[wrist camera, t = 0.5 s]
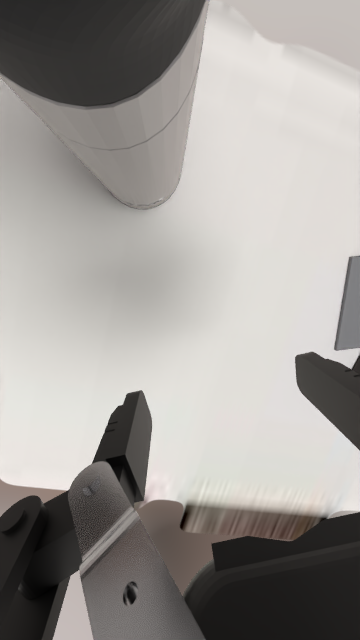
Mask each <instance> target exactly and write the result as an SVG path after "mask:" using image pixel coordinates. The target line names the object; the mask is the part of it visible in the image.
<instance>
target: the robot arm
mask: <svg viewBox="0 0 360 640" xmlns="http://www.w3.org/2000/svg"><path fill="white" fill-rule="evenodd" d="M208 5H209V0H0V78H1V79H2V80H3V81H4V82H5V83H6V84H7V85H8V86H9V87H10V88H11V89H12V90H13V91H14V92H15V93H16V94H17V95H18V96H19V97H20V99H21V100H22V101H23V102H24V103H25V104H26V105H27V106H28V107H29V108H30V109H31V110H32V111H33V112H34V113H35V114H36V115H37V116H38V117H39V118H40V119H41V120H42V121H43V122H44V123H45V124H46V125H47V126H48V127H49V128H50V129H51V130H52V131H53V133H54V134H55V135H56V136H57V137H58V138H59V139H60V140H61V141H62V142H63V143H64V144H65V145H66V146H67V147H68V148H69V149H70V150H71V151H72V152H73V153H74V154H75V156H76V157H77V158H78V159H79V160H80V161H81V162H82V163H83V164H84V165H85V166H86V167H87V168H88V169H89V170H90V171H91V172H92V173H93V174H94V175H95V176H96V177H97V178H98V180H99V181H100V182H101V183H102V184H103V185H104V186H105V187H106V188H107V189H108V190H109V191H110V192H111V193H112V194H113V195H114V196H115V197H116V198H117V199H118V200H120V201H121V202H122V203H124V204H126V205H128V206H130V207H134V208H138V209H149V208H153V207H156V206H158V205H160V204H162V203H164V202H165V201H166V200H167V199H168V198H169V197H170V196H171V195H172V194H173V192H174V191H175V189H176V187H177V185H178V183H179V180H180V176H181V172H182V166H183V160H184V155H185V149H186V143H187V136H188V130H189V124H190V118H191V112H192V106H193V100H194V93H195V87H196V81H197V75H198V69H199V63H200V57H201V50H202V44H203V36H204V30H205V24H206V18H207V11H208ZM295 364H296V379H297V385H298V387H299V389H300V391H301V393H302V394H303V395H304V396H305V397H306V398H307V399H308V400H309V401H310V402H311V403H312V404H313V405H314V406H315V407H316V408H317V409H318V410H319V411H320V412H321V413H322V414H323V415H324V416H325V417H326V418H327V419H328V420H329V421H330V422H331V423H333V424H334V425H335V426H336V427H337V428H338V429H339V430H340V431H341V432H342V433H343V434H344V435H345V436H346V437H347V438H348V439H349V440H350V441H351V442H352V443H353V444H354V445H355V446H356V447H357V448H358V449H359V450H360V374H358V373H356V372H355V371H351V369H350V368H348V367H346V366H344V365H343V364H341V363H338V362H335V361H332V360H329V359H324V358H323V357H321V356H319V355H318V354H316V353H314V352H309V353H305V354H300V355H297V356H296V357H295ZM151 432H152V418H151V414H150V411H149V408H148V405H147V402H146V399H145V396H144V393H143V391H142V390H141V391H136V392H132V393H128V394H127V395H126V398H125V401H124V404H123V405H121V406H118V407H117V408H116V409H115V411H114V412H113V413H112V414H111V416H110V419H109V421H108V425H107V427H106V429H105V433H104V434H103V437H102V439H101V442H100V444H99V447H98V450H97V452H96V455H95V457H94V460H93V462H92V464H91V465H89V466H88V467H86V468H85V469H84V470H83V471H81V472H80V473H79V474H78V476H77V477H76V478H75V480H74V481H73V483H72V485H71V487H70V489H69V490H68V491H66V492H64V493H63V494H61V495H59V496H57V497H55V498H53V499H52V500H50V501H48V502H46V503H44V504H43V502H42V501H41V499H40V498H39V497H38V496H28V497H26V498H24V499H22V500H20V501H18V502H17V503H15V504H14V505H13V506H11V507H10V508H9V509H8V510H7V511H6V512H5V513H4V514H3V515H2V516H1V517H0V640H52V639H53V636H54V632H55V628H56V625H57V621H58V618H59V614H60V611H61V607H62V604H63V600H64V597H65V593H66V590H67V586H68V583H69V579H70V576H71V575H72V574H74V573H75V572H76V571H78V570H80V577H81V582H82V587H83V592H84V596H85V601H86V606H87V611H88V616H89V620H90V625H91V629H92V634H93V639H94V640H360V512H358V513H354V514H349V515H344V516H340V517H335V518H330V519H325V520H323V521H321V522H320V523H319V524H317V525H316V526H314V527H313V528H311V529H310V530H308V531H307V532H306V533H304V534H303V535H301V536H300V537H298V538H297V539H296V540H294V541H280V540H273V539H266V538H259V537H251V536H245V537H241V538H236V539H231V540H227V541H222V542H218V543H213V544H212V551H213V557H214V559H213V560H211V561H210V562H208V563H207V564H206V565H205V566H204V567H203V568H202V569H201V570H199V572H198V573H197V574H196V575H195V576H194V578H193V579H192V580H191V582H190V584H189V585H188V587H187V588H186V590H185V592H184V594H183V596H182V595H181V593H180V591H179V589H178V587H177V586H176V584H175V582H174V580H173V578H172V576H171V574H170V573H169V571H168V569H167V567H166V565H165V563H164V562H163V560H162V558H161V556H160V554H159V553H158V550H157V549H156V547H155V545H154V543H153V541H152V540H151V538H150V536H149V534H148V532H147V530H146V529H145V527H144V525H143V523H142V521H141V519H140V517H139V516H138V514H137V512H136V510H135V509H133V508H134V502H139V501H144V495H145V486H146V477H147V468H148V459H149V450H150V441H151Z"/></svg>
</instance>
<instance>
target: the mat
mask: <svg viewBox="0 0 360 640" xmlns="http://www.w3.org/2000/svg"><path fill="white" fill-rule="evenodd" d="M353 348H360V256H356V257H350V259H349V265H348V271H347V277H346V283H345V289H344V295H343V301H342V307H341V313H340V320H339V326H338V332H337V338H336V344H335V350H336V351H338V350H346V349H353Z"/></svg>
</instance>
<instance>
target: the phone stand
mask: <svg viewBox="0 0 360 640" xmlns="http://www.w3.org/2000/svg"><path fill="white" fill-rule="evenodd" d="M352 371H355V372H356V373H358V374H360V357H359V359H358V361H357V363H356V364H355V366H354V368H353V370H352Z"/></svg>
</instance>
